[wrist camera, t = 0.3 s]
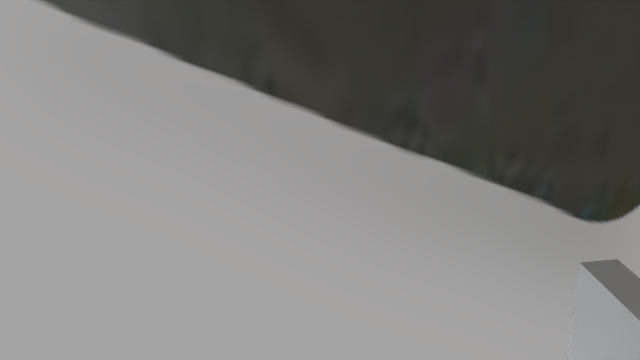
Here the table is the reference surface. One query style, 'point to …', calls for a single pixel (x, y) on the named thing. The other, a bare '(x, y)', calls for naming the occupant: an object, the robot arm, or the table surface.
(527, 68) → the table surface
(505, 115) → the table surface
